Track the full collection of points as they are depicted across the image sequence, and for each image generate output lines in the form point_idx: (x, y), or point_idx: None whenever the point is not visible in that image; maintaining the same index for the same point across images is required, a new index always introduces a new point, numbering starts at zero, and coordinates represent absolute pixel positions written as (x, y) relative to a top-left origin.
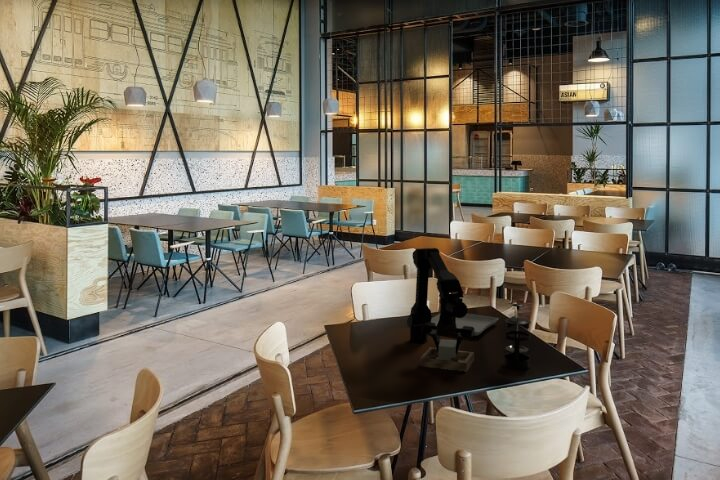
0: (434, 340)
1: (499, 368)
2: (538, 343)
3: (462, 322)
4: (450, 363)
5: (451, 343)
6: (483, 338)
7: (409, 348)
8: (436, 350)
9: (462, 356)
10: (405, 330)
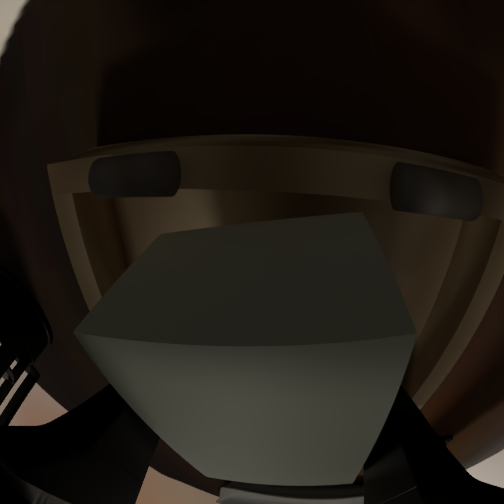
0: (445, 458)
1: (28, 270)
2: None
3: (292, 500)
4: (192, 142)
5: (209, 446)
6: None
7: (472, 400)
8: None
9: None
10: None
